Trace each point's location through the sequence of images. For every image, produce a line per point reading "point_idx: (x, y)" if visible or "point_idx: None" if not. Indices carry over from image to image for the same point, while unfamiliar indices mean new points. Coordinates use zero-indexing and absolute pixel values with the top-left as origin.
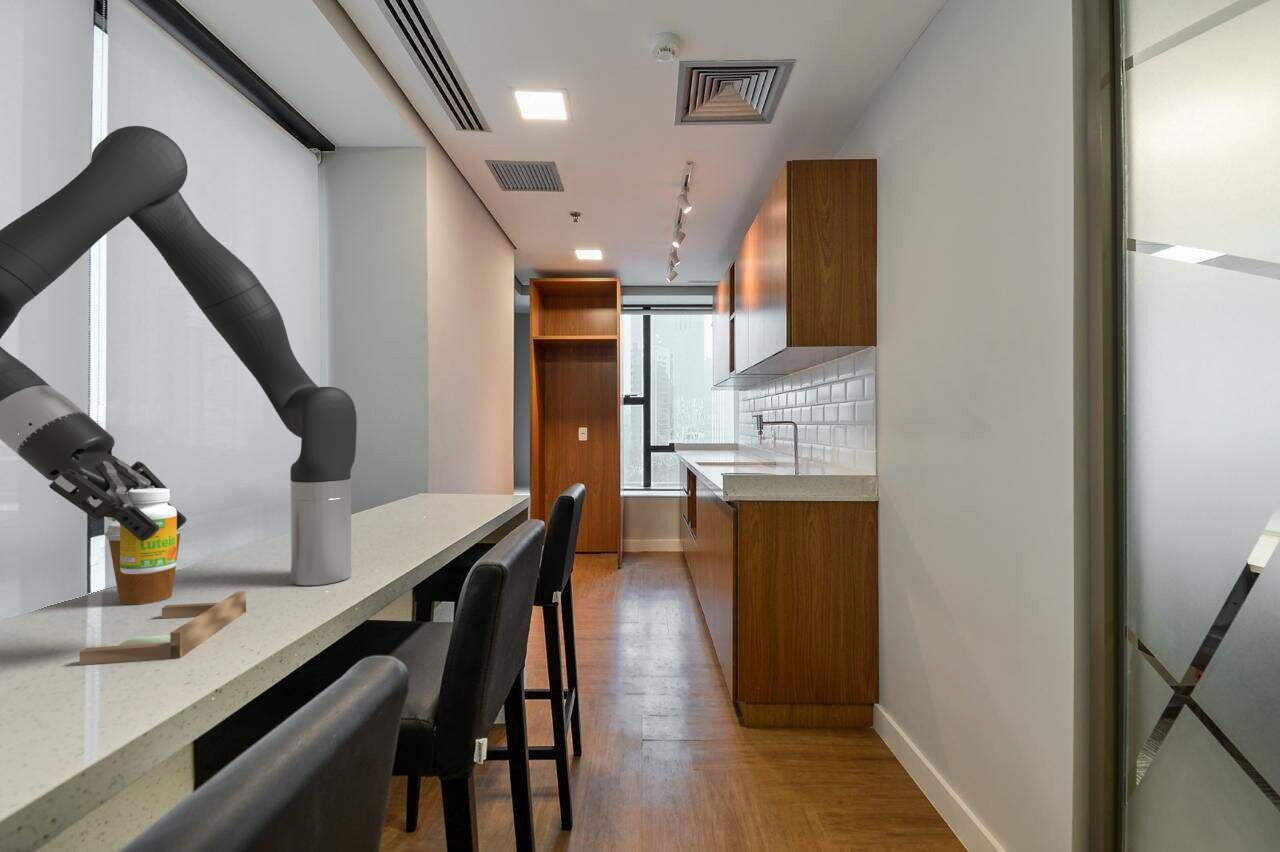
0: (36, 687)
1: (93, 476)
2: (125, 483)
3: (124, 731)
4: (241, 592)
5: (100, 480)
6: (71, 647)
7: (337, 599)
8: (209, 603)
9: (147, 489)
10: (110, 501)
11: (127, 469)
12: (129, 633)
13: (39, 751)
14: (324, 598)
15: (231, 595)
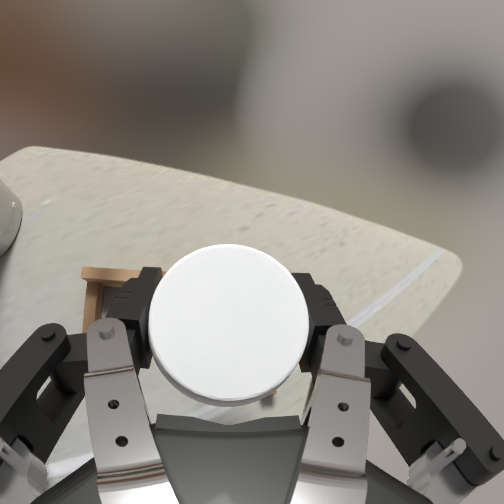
0: None
1: (395, 480)
2: (231, 431)
3: (415, 250)
4: (90, 269)
5: (370, 462)
6: None
7: (87, 178)
8: (86, 319)
9: (204, 339)
10: (413, 343)
11: (166, 474)
12: (155, 396)
13: (434, 290)
14: (75, 194)
15: (102, 278)
